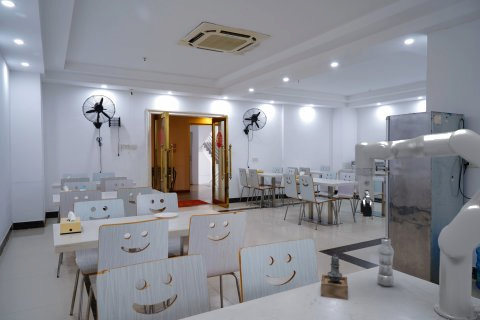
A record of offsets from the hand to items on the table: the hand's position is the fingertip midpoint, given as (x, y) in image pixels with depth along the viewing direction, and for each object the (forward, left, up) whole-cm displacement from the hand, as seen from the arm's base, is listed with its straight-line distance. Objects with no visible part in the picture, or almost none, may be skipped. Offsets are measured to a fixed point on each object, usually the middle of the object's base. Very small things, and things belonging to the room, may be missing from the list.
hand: (365, 214), depth 133 cm
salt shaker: (+12, +5, -28) cm, 31 cm away
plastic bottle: (-9, -10, -32) cm, 35 cm away
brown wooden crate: (+12, +5, -32) cm, 34 cm away
